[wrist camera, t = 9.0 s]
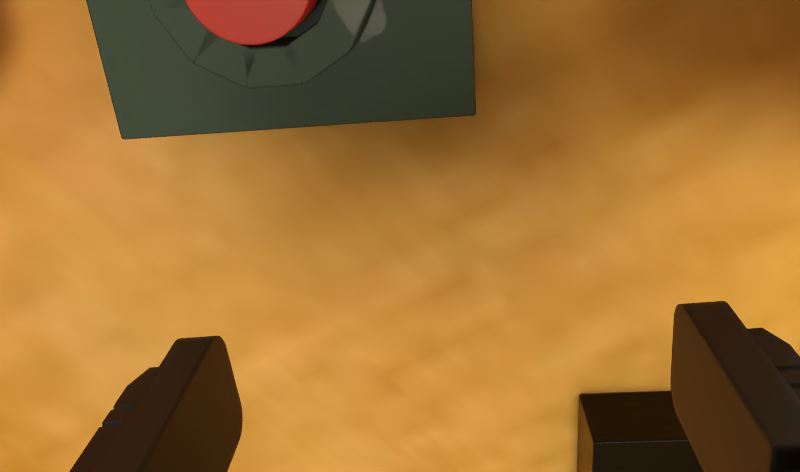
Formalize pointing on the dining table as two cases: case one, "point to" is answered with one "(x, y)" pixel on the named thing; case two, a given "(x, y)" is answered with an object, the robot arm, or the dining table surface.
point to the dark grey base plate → (285, 67)
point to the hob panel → (632, 434)
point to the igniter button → (251, 18)
